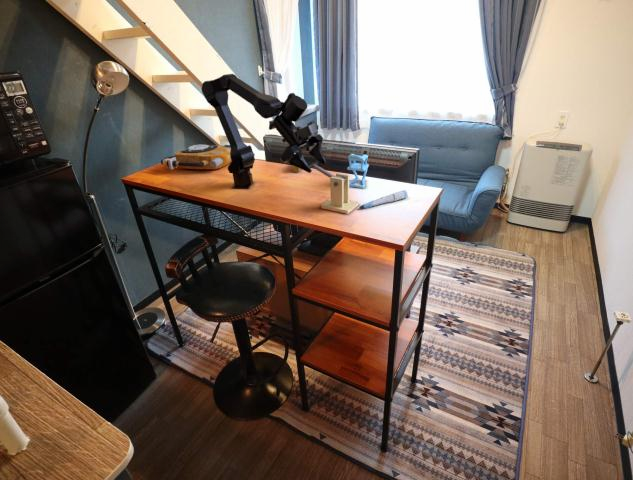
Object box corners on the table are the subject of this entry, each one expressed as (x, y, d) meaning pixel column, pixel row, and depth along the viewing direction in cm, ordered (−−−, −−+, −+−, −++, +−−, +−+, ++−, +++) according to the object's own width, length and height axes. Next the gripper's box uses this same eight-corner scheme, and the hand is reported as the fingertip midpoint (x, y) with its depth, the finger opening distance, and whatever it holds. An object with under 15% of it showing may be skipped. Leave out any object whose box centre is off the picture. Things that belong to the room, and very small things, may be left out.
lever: (305, 169, 113) (307, 163, 112) (314, 164, 117) (316, 158, 116) (338, 189, 110) (340, 183, 109) (346, 183, 114) (348, 177, 113)
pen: (402, 195, 122) (403, 188, 121) (408, 198, 120) (409, 191, 118) (356, 208, 115) (356, 200, 113) (362, 211, 112) (362, 203, 111)
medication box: (299, 164, 158) (297, 155, 156) (304, 163, 157) (303, 155, 156) (293, 172, 148) (291, 163, 146) (299, 171, 147) (297, 162, 145)
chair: (370, 181, 136) (371, 150, 130) (364, 188, 129) (365, 157, 123) (351, 178, 139) (352, 149, 133) (344, 186, 132) (344, 155, 126)
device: (215, 157, 143) (153, 154, 149) (219, 176, 147) (158, 173, 154) (239, 143, 161) (183, 141, 168) (241, 160, 166) (187, 158, 172)
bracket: (321, 208, 116) (320, 177, 110) (332, 199, 122) (332, 170, 116) (347, 214, 111) (348, 182, 106) (358, 204, 117) (359, 174, 111)
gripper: (284, 119, 101) (317, 161, 102) (317, 109, 115) (346, 145, 115) (266, 143, 109) (297, 182, 109) (299, 131, 122) (326, 165, 123)
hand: (318, 167), depth 114 cm, fingers open, 9 cm apart
